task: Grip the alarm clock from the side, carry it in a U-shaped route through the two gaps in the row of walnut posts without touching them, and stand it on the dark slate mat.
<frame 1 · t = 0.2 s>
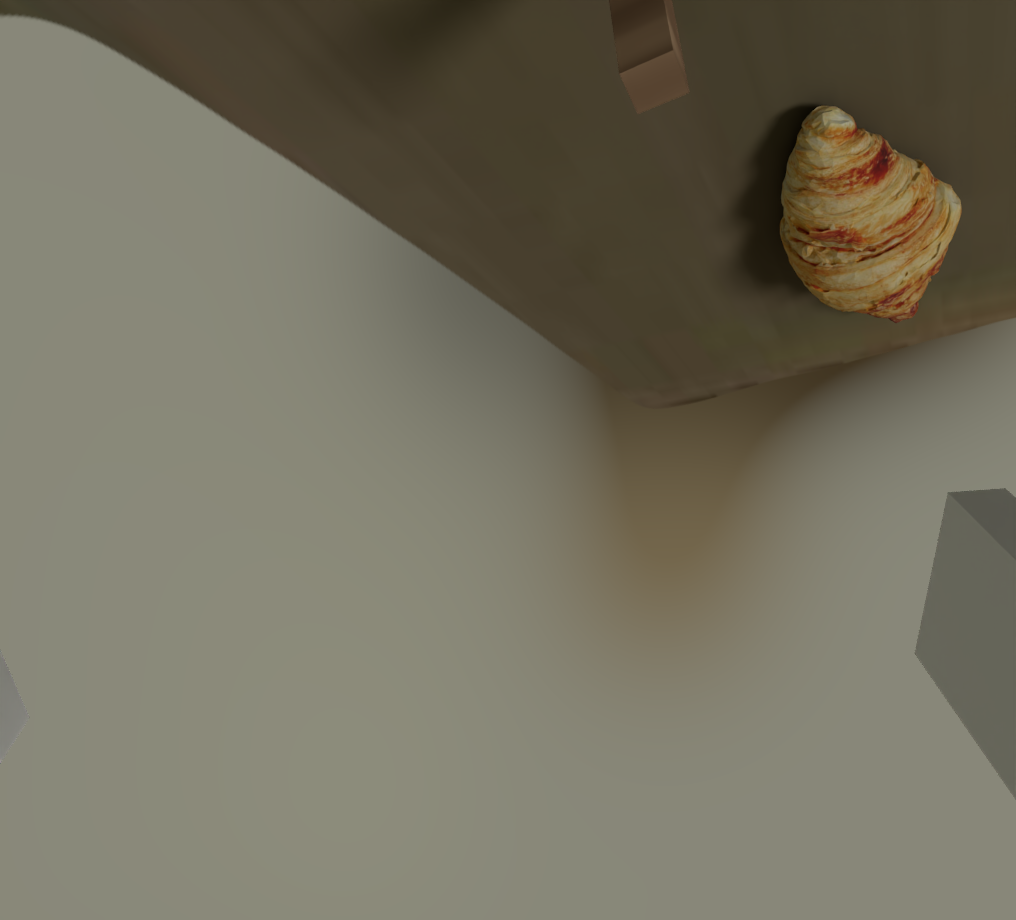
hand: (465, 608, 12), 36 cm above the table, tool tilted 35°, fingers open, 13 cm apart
croissant: (861, 198, 55), on the table
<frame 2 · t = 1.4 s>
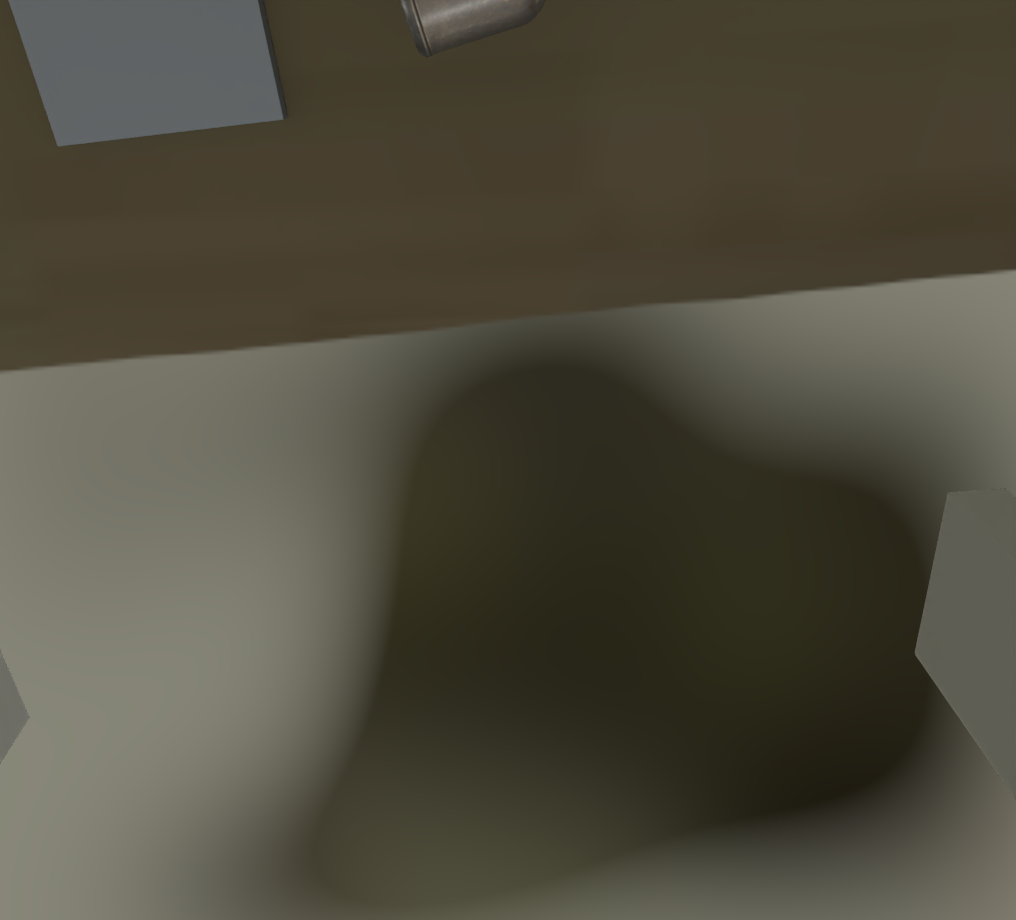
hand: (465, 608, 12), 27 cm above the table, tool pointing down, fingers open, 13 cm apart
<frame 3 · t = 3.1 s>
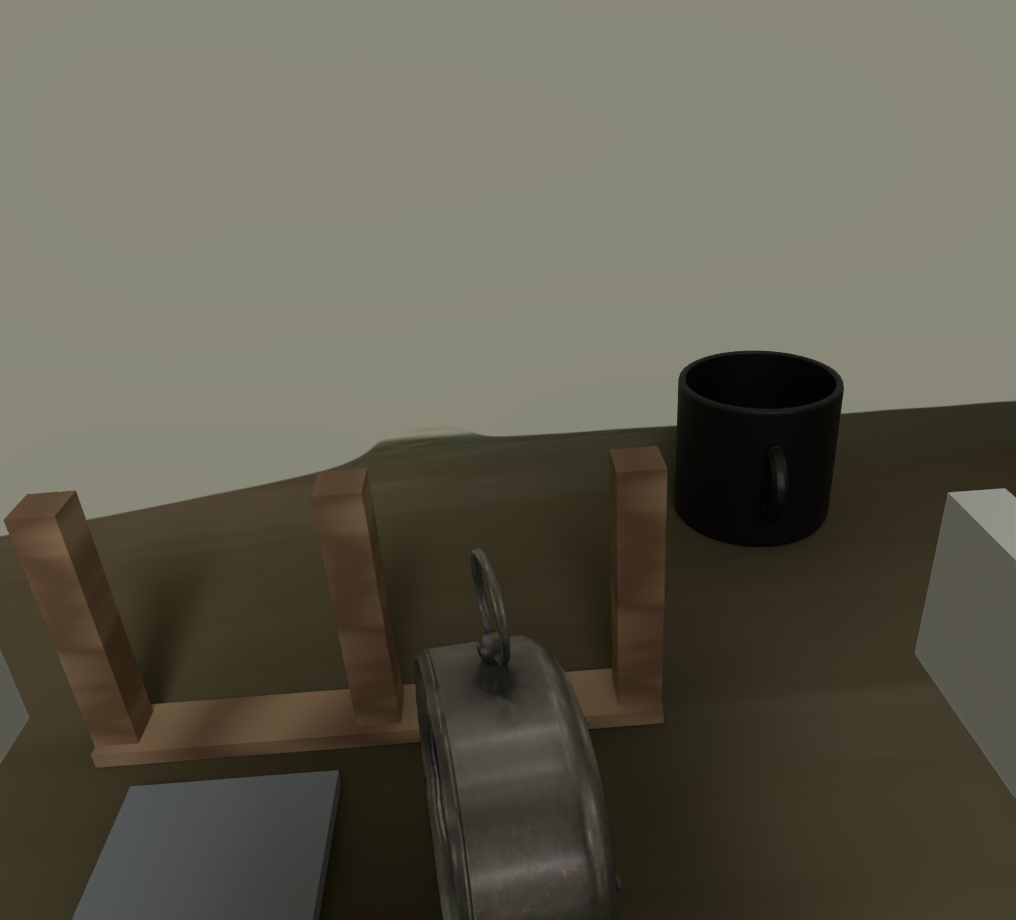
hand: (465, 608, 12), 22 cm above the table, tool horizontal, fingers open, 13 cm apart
mug: (753, 521, 54), on the table
slalom posts: (383, 721, 40), on the table
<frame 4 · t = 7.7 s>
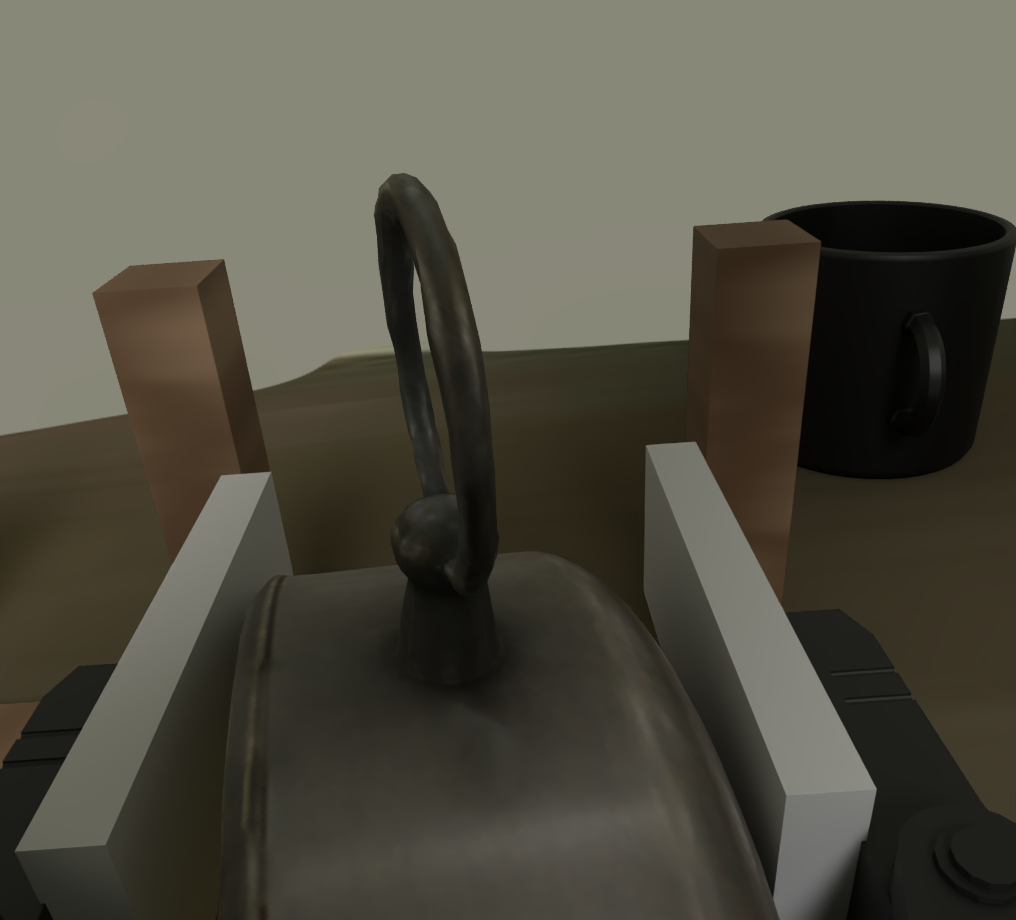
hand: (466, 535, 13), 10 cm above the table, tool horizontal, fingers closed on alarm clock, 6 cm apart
mug: (861, 447, 37), on the table
slalom posts: (281, 744, 23), on the table
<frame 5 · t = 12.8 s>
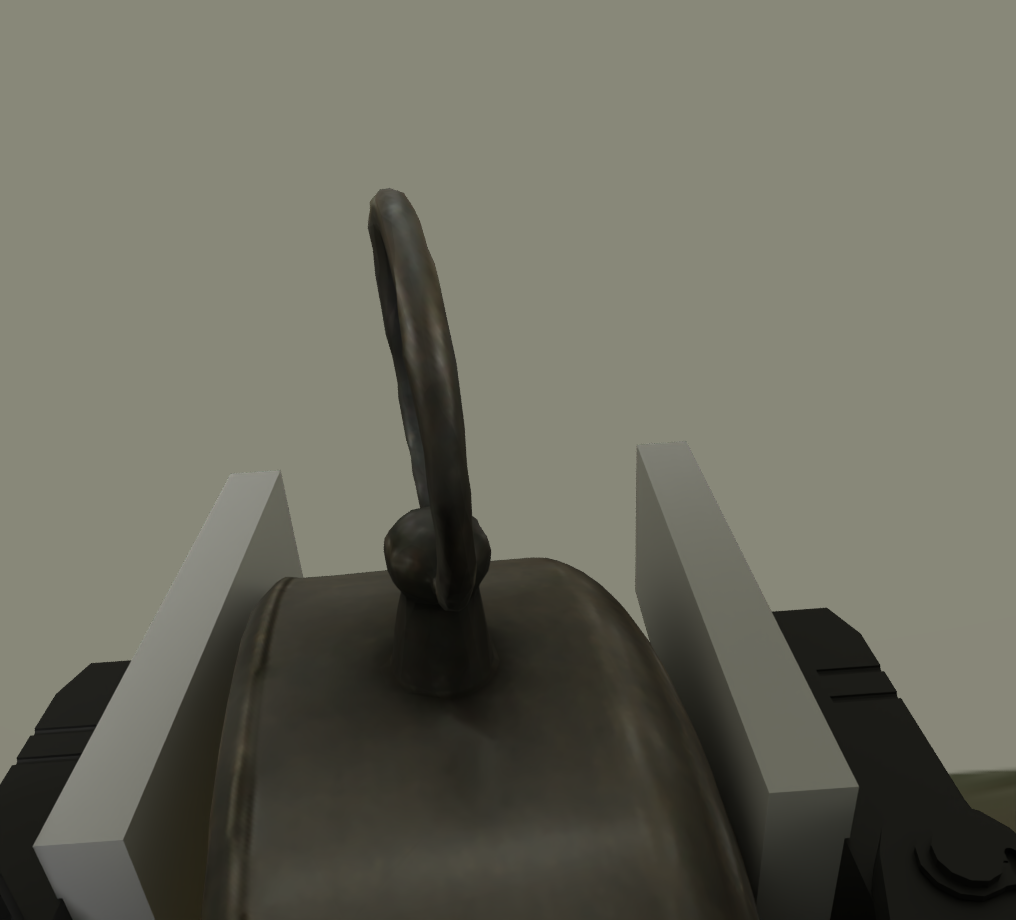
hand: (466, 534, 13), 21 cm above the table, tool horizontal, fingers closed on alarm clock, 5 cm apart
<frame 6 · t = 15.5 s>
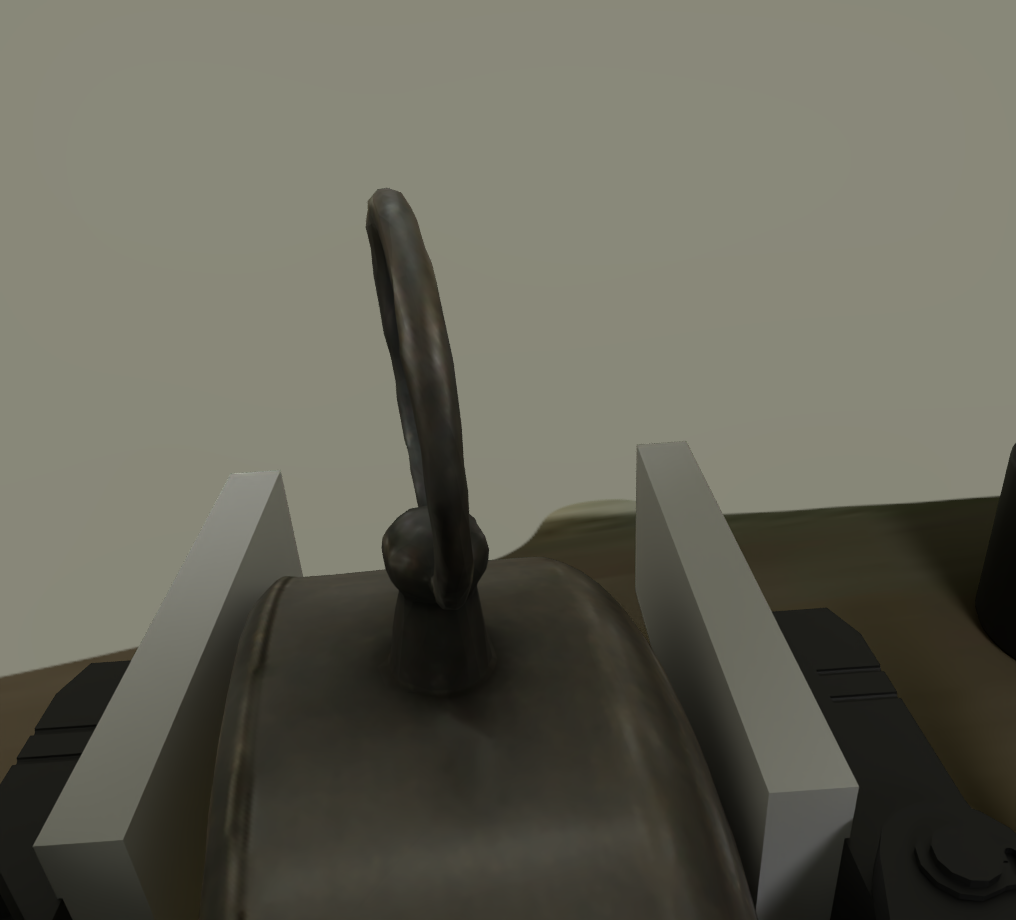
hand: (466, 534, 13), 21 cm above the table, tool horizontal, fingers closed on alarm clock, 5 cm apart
when the fingers open (12 cm above the table, at t = 17.9 s): alarm clock drops 1 cm, resting on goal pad.
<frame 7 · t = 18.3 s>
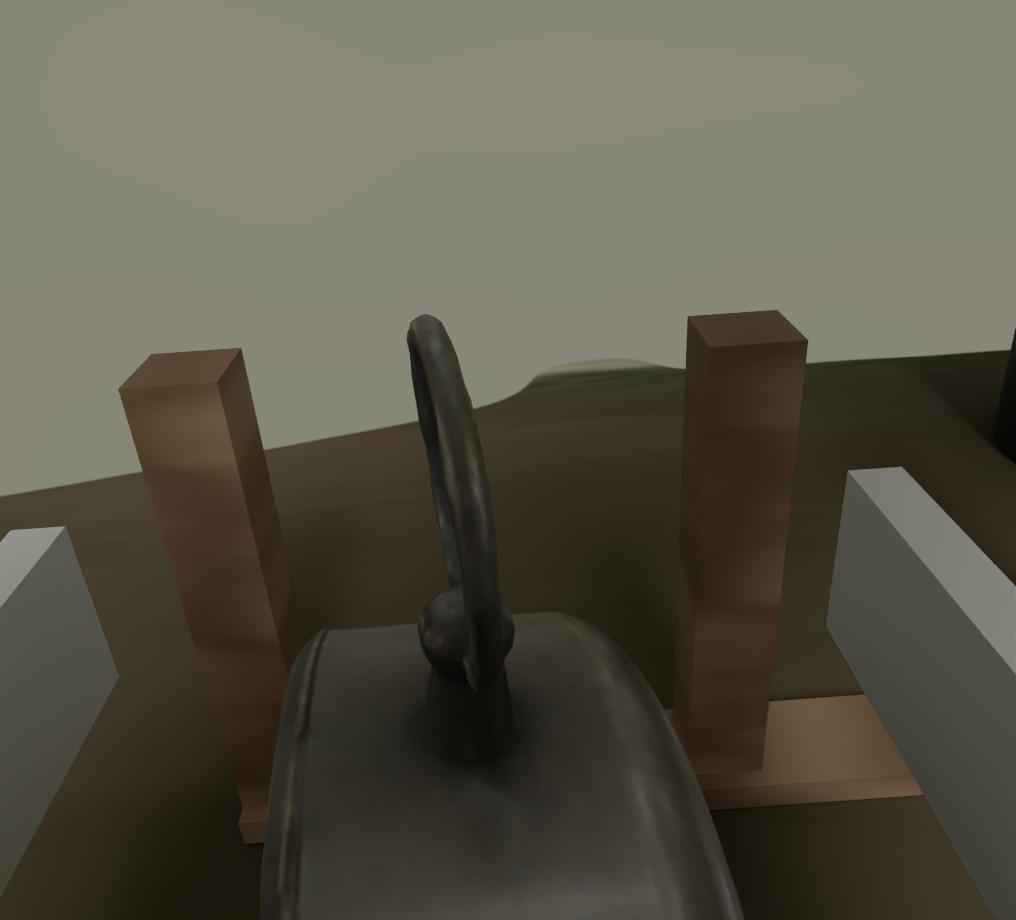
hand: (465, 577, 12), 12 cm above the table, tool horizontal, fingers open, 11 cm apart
slalom posts: (714, 765, 24), on the table
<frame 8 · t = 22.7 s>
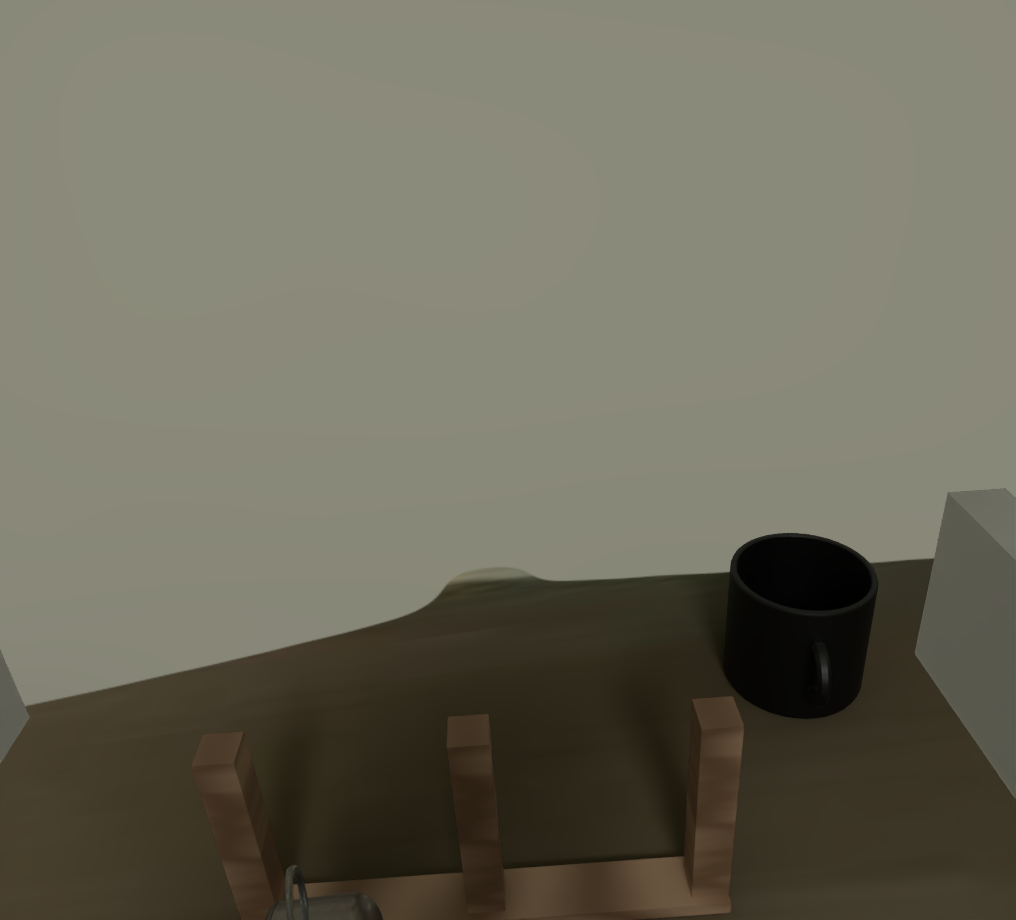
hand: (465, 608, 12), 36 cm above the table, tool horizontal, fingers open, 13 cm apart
mug: (794, 688, 60), on the table
slalom posts: (487, 904, 47), on the table
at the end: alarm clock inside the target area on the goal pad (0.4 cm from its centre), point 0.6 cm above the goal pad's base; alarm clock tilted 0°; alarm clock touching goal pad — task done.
